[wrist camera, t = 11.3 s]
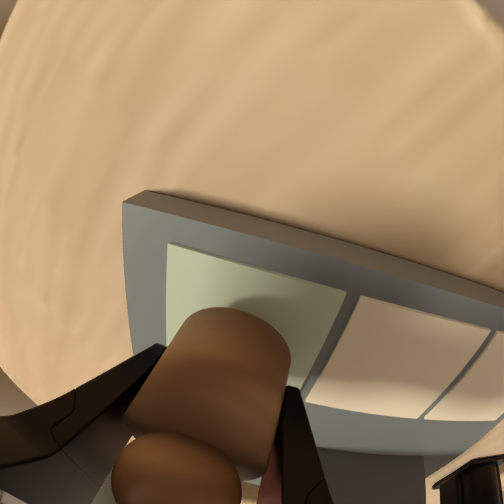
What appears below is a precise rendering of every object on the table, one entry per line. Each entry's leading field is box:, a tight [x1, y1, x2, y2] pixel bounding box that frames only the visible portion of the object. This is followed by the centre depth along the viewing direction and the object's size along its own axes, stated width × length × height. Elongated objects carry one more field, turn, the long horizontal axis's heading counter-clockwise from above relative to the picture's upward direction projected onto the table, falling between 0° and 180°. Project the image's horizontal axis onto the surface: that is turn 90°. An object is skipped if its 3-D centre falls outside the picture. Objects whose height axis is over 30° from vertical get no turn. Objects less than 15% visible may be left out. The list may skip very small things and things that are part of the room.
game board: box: [122, 190, 504, 504], centre depth 12 cm, size 22×22×6 cm
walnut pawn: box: [111, 307, 291, 504], centre depth 7 cm, size 4×4×7 cm
